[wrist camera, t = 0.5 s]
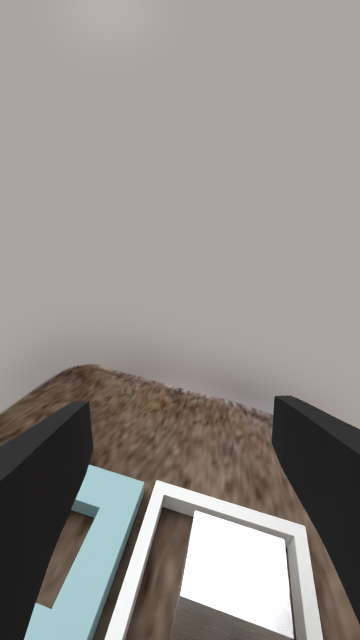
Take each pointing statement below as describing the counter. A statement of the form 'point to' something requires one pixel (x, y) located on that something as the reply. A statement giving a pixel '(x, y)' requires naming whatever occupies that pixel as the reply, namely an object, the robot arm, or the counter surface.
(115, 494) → the pale blue window frame
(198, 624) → the billet
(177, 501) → the white square frame
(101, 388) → the counter surface
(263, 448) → the counter surface
